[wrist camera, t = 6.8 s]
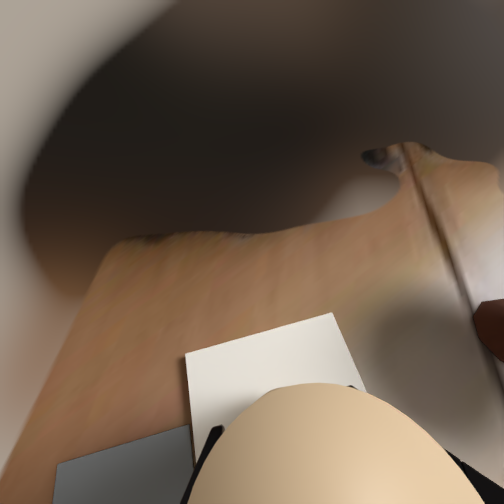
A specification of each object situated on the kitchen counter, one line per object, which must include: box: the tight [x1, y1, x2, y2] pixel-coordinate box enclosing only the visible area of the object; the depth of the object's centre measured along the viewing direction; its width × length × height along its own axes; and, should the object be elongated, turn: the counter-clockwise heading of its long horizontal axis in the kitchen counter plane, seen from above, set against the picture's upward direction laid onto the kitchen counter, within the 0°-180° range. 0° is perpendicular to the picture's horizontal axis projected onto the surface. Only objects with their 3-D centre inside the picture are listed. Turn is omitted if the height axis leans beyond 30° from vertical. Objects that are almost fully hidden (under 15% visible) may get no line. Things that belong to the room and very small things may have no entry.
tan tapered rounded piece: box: [187, 383, 484, 504], centre depth 8 cm, size 4×4×12 cm
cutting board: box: [185, 313, 367, 463], centre depth 16 cm, size 12×12×1 cm
